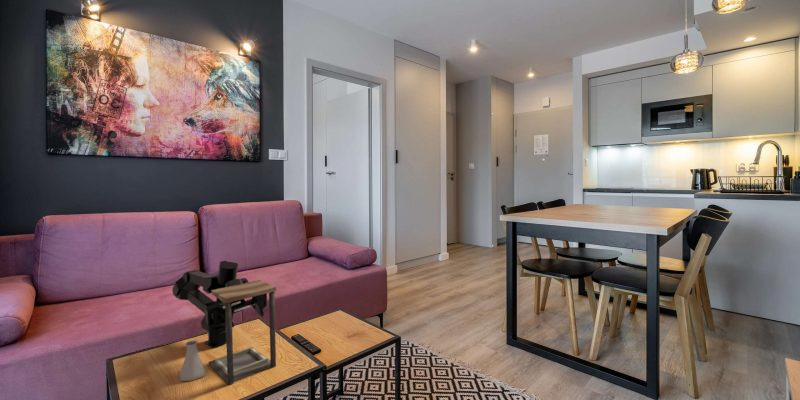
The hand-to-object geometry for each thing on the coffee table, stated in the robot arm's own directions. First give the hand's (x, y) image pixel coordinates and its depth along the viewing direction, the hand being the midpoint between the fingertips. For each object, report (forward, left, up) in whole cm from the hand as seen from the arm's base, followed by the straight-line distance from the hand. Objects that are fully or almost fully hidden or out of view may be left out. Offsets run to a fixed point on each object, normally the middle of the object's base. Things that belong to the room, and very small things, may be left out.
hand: (248, 320), depth 112 cm
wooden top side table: (-4, -1, -15) cm, 15 cm away
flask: (-10, -13, -15) cm, 22 cm away
